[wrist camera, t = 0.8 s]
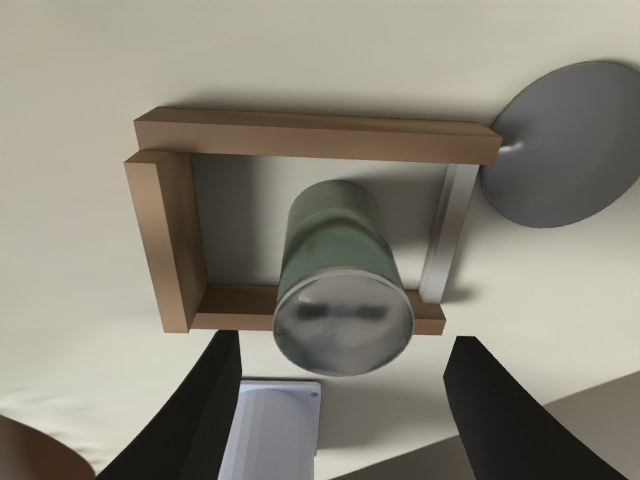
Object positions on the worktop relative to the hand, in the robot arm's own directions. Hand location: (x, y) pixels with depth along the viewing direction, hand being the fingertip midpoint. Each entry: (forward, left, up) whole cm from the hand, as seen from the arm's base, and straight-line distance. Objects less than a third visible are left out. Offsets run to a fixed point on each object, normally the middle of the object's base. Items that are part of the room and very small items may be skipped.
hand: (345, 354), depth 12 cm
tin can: (0, 0, -9) cm, 9 cm away
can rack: (0, +1, -9) cm, 9 cm away
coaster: (+4, -11, -9) cm, 15 cm away
